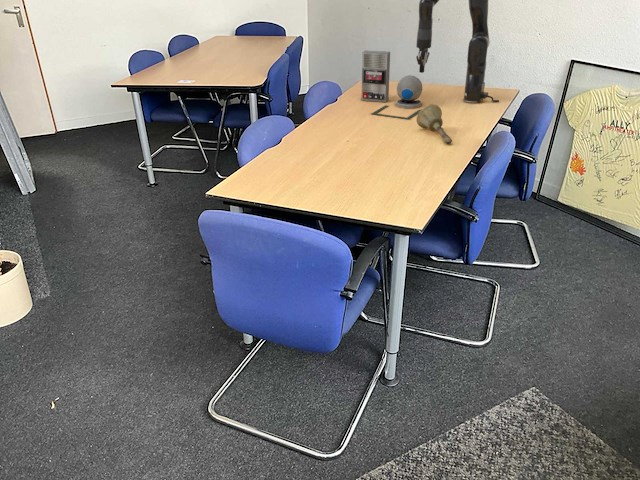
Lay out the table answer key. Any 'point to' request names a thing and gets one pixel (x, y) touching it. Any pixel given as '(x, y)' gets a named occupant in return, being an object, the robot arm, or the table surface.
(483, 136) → the table surface
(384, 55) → the cassette tape recorder
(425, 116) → the handbell
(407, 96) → the webcam
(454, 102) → the table surface
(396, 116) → the tape bay
